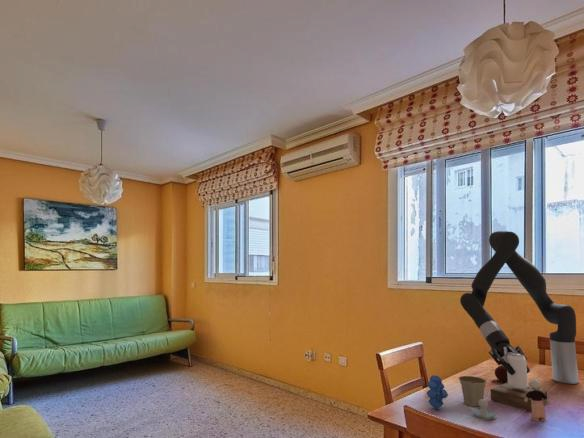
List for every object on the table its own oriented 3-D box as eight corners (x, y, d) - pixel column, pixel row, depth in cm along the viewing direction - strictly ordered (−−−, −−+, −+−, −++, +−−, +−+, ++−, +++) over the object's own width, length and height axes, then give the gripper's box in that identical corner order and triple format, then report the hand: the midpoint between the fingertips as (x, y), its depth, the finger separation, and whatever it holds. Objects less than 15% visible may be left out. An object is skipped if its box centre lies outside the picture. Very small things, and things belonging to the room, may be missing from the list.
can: (530, 390, 140) (528, 356, 142) (511, 388, 142) (509, 355, 143) (523, 384, 146) (521, 352, 148) (505, 383, 148) (503, 351, 149)
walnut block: (508, 392, 153) (507, 382, 153) (547, 402, 142) (546, 391, 142) (491, 400, 145) (490, 389, 145) (531, 411, 134) (530, 399, 134)
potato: (514, 380, 170) (513, 364, 171) (513, 385, 163) (512, 368, 164) (496, 377, 174) (495, 361, 175) (494, 382, 167) (493, 365, 168)
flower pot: (486, 401, 144) (484, 377, 145) (489, 410, 135) (488, 384, 136) (458, 398, 147) (457, 374, 148) (460, 406, 138) (459, 381, 139)
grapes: (443, 417, 128) (441, 380, 129) (423, 412, 132) (422, 376, 134) (454, 408, 137) (453, 373, 138) (435, 403, 141) (434, 369, 142)
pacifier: (476, 412, 133) (470, 417, 129) (475, 393, 134) (469, 397, 130) (499, 418, 128) (494, 423, 124) (498, 398, 129) (493, 402, 125)
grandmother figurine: (544, 416, 129) (541, 377, 130) (552, 421, 125) (549, 381, 126) (522, 417, 129) (519, 377, 130) (529, 421, 125) (527, 381, 126)
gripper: (484, 330, 151) (511, 369, 139) (512, 328, 155) (541, 366, 143) (474, 341, 156) (500, 380, 143) (502, 339, 160) (529, 376, 147)
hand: (520, 373), depth 143 cm, fingers closed on can, 6 cm apart
